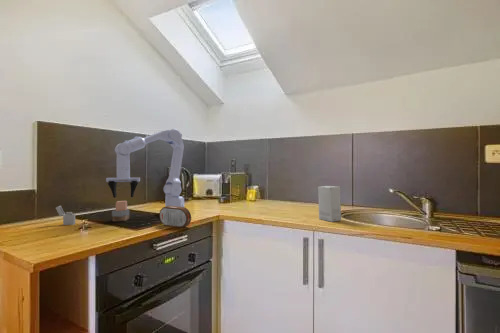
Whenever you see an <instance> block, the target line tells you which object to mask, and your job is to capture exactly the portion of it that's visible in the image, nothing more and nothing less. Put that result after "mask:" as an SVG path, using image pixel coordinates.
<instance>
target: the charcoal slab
mask: <svg viewBox="0 0 500 333" xmlns="http://www.w3.org/2000/svg"><path fill="white" fill-rule="evenodd" d="M127 215H129V216H130V209H128V208H127V210H125V211H116V209H114V210H112V211H111V217H113V216H116V217H123V216H127Z"/></svg>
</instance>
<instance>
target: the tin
mask: <svg viewBox="0 0 500 333" xmlns="http://www.w3.org/2000/svg"><path fill="white" fill-rule="evenodd" d="M191 215H192V214H191V212H190V210H189V209H188V208H187V207H185V206H184V207H179V206H166V207H165V206H164V207H162V208H161V209H160V210H159V220H160V222H161V224H163V225H164V226H166V227H172V228H179V229H180V228H185V227H188V226H189V225H190V224H191V221H192V216H191Z"/></svg>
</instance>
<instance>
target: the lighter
mask: <svg viewBox="0 0 500 333" xmlns="http://www.w3.org/2000/svg"><path fill="white" fill-rule="evenodd" d="M55 209H56V211H57V215H59V217H62V220H63V222H62V223H63V226H69V225H70V226H75V225H76V214H75V213H73V212H72V211H66V212H65V211H64V210H63V208H62V205H59V206H56V207H55Z"/></svg>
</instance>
